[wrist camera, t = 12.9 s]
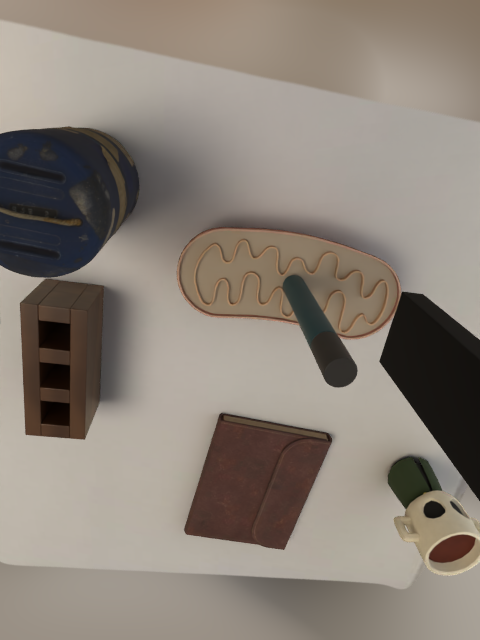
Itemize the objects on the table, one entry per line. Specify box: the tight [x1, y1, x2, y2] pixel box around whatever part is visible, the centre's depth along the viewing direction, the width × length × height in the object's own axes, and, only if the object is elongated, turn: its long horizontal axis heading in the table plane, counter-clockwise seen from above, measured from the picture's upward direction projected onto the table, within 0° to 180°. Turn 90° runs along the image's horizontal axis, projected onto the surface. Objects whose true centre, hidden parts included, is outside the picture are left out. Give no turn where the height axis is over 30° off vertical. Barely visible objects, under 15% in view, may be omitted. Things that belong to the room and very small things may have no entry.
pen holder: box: [20, 279, 104, 439], centre depth 47 cm, size 6×15×7 cm, turn 171°
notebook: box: [184, 413, 332, 550], centre depth 59 cm, size 15×20×2 cm
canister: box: [0, 127, 139, 278], centre depth 35 cm, size 10×10×18 cm
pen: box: [283, 275, 357, 387], centre depth 36 cm, size 2×2×17 cm
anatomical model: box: [177, 227, 401, 339], centre depth 46 cm, size 23×10×5 cm, turn 78°
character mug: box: [388, 457, 480, 576], centre depth 55 cm, size 11×7×13 cm, turn 84°
